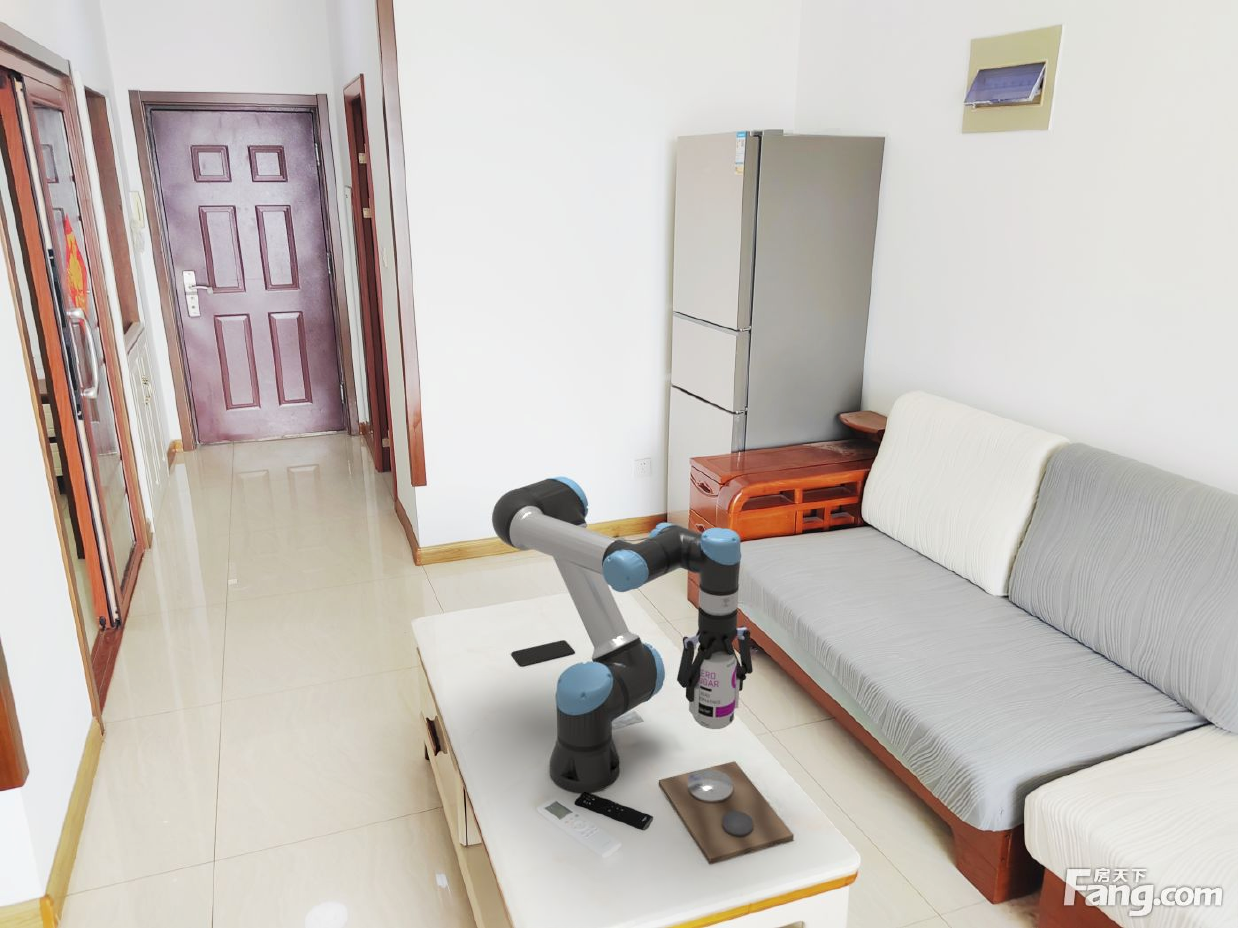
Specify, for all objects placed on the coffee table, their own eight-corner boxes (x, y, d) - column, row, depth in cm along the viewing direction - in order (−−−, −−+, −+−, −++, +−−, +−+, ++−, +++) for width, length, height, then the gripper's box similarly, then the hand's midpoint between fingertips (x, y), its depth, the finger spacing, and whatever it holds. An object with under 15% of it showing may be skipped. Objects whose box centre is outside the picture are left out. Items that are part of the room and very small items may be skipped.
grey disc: (730, 839, 168) (731, 835, 168) (716, 819, 174) (716, 815, 174) (758, 832, 171) (758, 827, 170) (743, 812, 176) (743, 807, 176)
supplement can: (733, 708, 181) (736, 643, 177) (734, 732, 174) (737, 665, 169) (693, 706, 182) (695, 641, 177) (692, 729, 174) (695, 663, 170)
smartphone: (565, 641, 243) (510, 654, 236) (565, 638, 243) (509, 651, 236) (576, 655, 236) (520, 668, 229) (576, 652, 236) (520, 665, 229)
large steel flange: (699, 807, 177) (699, 803, 177) (679, 778, 185) (679, 774, 185) (741, 796, 180) (741, 792, 180) (720, 768, 189) (720, 764, 188)
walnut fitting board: (709, 863, 164) (709, 858, 164) (658, 784, 185) (658, 779, 185) (793, 839, 170) (793, 834, 170) (734, 765, 192) (735, 761, 191)
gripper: (676, 625, 163) (673, 730, 170) (775, 606, 170) (768, 708, 177) (660, 607, 170) (658, 709, 177) (756, 590, 177) (750, 689, 184)
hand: (713, 708), depth 177 cm, fingers closed on supplement can, 8 cm apart
